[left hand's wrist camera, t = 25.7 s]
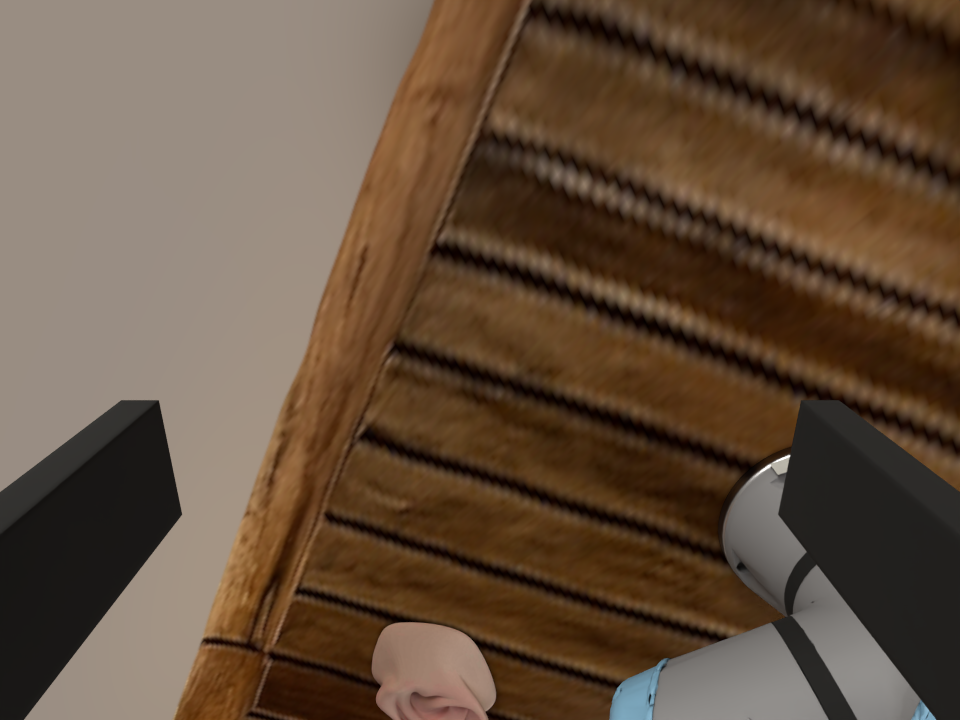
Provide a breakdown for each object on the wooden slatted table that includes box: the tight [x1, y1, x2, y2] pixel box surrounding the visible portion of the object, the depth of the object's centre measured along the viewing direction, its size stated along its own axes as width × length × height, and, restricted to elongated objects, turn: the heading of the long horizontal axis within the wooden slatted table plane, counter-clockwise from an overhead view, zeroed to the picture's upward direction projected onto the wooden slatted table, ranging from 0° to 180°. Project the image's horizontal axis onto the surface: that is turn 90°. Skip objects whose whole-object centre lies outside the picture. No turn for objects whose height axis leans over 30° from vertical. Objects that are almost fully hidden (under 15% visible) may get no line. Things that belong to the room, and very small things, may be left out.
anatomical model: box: [372, 622, 496, 720], centre depth 58 cm, size 13×4×12 cm
